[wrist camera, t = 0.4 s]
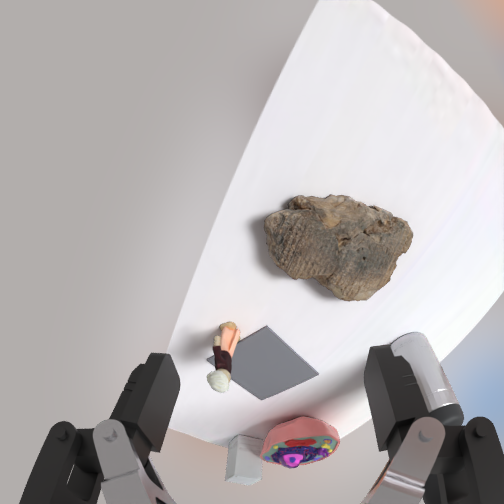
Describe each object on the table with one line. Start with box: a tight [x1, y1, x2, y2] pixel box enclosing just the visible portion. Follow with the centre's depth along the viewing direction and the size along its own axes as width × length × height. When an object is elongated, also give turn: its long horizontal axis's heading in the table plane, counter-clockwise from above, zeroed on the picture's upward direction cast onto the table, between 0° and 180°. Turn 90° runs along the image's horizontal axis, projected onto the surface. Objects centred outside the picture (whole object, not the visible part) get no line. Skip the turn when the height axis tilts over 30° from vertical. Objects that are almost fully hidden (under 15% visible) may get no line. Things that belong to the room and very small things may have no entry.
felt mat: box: [207, 326, 319, 400], centre depth 51 cm, size 16×14×1 cm
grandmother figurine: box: [207, 322, 240, 393], centre depth 41 cm, size 8×4×13 cm, turn 23°
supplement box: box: [225, 435, 263, 485], centre depth 60 cm, size 7×7×13 cm
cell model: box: [260, 416, 340, 468], centre depth 55 cm, size 17×20×11 cm
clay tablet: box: [264, 195, 413, 301], centre depth 37 cm, size 14×5×20 cm
